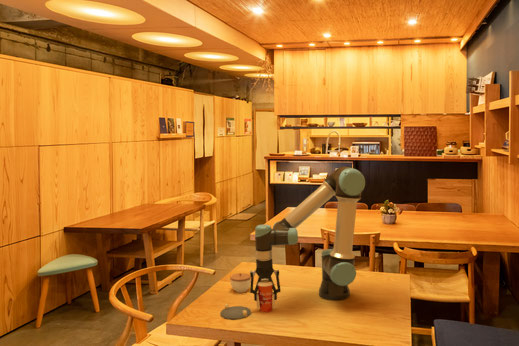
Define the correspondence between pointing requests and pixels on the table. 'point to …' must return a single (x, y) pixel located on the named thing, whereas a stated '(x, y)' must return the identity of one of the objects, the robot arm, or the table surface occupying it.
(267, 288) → the paper cup
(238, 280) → the lidded jar
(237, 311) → the pad
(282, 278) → the table surface
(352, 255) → the robot arm
